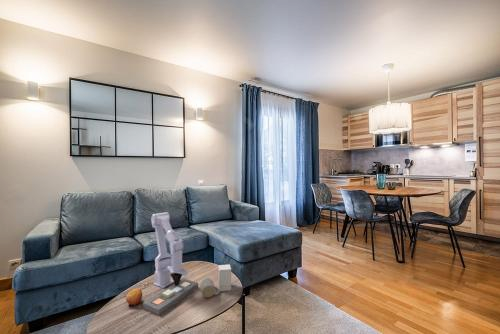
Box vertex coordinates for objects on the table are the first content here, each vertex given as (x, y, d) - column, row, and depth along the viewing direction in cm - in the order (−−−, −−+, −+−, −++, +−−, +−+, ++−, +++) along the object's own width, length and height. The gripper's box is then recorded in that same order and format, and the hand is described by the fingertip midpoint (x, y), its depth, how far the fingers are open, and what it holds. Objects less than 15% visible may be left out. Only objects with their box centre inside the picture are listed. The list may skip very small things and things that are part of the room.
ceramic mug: (202, 299, 127) (202, 286, 127) (200, 292, 135) (200, 279, 135) (221, 296, 131) (221, 282, 131) (217, 289, 139) (218, 276, 138)
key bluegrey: (171, 293, 132) (171, 290, 131) (177, 289, 135) (177, 286, 135) (176, 295, 129) (176, 292, 129) (182, 291, 133) (182, 288, 133)
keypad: (142, 308, 120) (142, 302, 120) (183, 283, 145) (183, 278, 145) (158, 315, 114) (158, 309, 114) (198, 287, 139) (198, 283, 139)
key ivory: (179, 288, 137) (179, 284, 137) (185, 284, 141) (185, 281, 141) (185, 290, 135) (185, 286, 135) (190, 286, 139) (190, 283, 139)
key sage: (162, 296, 126) (162, 293, 126) (168, 292, 130) (168, 289, 130) (167, 298, 124) (167, 295, 124) (174, 294, 128) (174, 291, 128)
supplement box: (231, 290, 137) (231, 269, 136) (218, 291, 135) (218, 270, 135) (230, 284, 144) (230, 263, 144) (218, 285, 143) (218, 264, 142)
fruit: (148, 295, 129) (142, 287, 125) (139, 310, 123) (132, 301, 119) (137, 293, 132) (131, 284, 128) (127, 307, 125) (120, 298, 121)
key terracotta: (151, 306, 120) (151, 302, 120) (158, 301, 124) (158, 297, 124) (157, 308, 118) (157, 304, 118) (164, 303, 122) (164, 300, 122)
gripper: (162, 261, 132) (162, 285, 132) (181, 267, 125) (181, 291, 125) (171, 257, 138) (171, 279, 139) (190, 262, 131) (190, 285, 132)
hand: (176, 285), depth 132 cm, fingers closed
